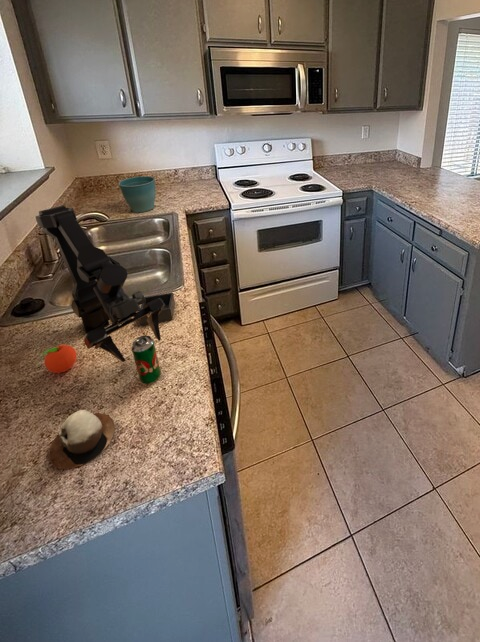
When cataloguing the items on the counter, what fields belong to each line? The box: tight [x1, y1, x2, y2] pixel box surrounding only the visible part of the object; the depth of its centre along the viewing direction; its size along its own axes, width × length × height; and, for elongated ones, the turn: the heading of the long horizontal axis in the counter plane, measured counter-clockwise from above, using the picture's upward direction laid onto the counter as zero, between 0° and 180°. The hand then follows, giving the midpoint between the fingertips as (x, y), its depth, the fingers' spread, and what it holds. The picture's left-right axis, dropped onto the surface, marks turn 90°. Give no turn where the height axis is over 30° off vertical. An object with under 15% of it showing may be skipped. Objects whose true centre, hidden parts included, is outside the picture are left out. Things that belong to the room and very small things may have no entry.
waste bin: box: [139, 292, 176, 326], centre depth 117 cm, size 9×9×4 cm
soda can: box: [130, 335, 162, 385], centre depth 91 cm, size 5×5×12 cm
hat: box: [48, 409, 116, 470], centre depth 77 cm, size 12×10×10 cm
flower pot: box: [118, 175, 157, 213], centre depth 201 cm, size 18×18×17 cm
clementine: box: [39, 344, 78, 374], centre depth 95 cm, size 8×7×7 cm
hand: (142, 350), depth 91 cm, fingers open, 9 cm apart
